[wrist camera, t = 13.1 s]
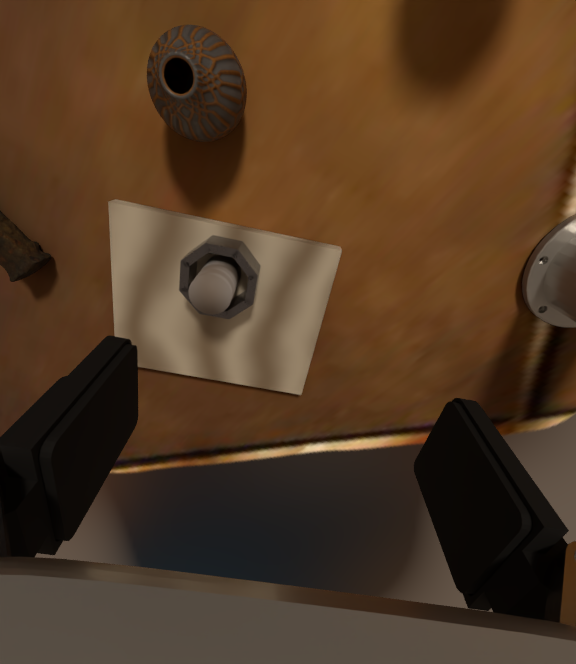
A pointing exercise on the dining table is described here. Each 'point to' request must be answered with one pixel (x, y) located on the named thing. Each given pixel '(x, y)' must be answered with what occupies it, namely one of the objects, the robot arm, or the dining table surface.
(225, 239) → the ring
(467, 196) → the dining table surface
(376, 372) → the dining table surface
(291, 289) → the board
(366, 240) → the dining table surface
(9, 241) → the hand tool
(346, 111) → the dining table surface
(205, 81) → the vase
